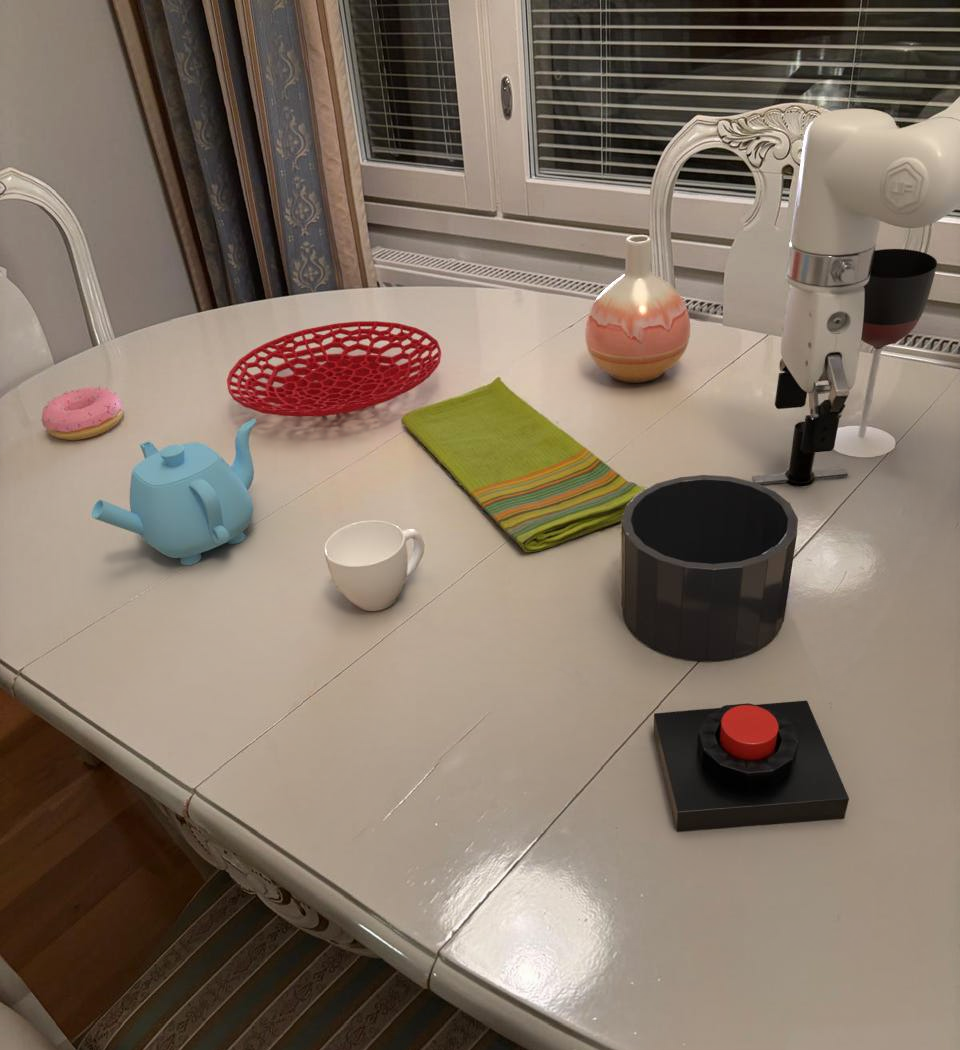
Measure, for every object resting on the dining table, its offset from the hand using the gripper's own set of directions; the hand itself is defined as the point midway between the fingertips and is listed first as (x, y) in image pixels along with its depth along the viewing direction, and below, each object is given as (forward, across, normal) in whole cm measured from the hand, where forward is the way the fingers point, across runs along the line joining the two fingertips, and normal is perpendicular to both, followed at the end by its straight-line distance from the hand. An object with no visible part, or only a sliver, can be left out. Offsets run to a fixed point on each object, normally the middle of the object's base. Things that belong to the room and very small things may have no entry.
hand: (802, 428), depth 97 cm
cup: (+7, -14, +45) cm, 47 cm away
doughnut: (+8, +32, +90) cm, 95 cm away
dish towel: (+7, +9, +31) cm, 33 cm away
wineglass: (+6, +7, -9) cm, 13 cm away
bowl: (+7, +33, +54) cm, 63 cm away
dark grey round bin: (+6, -21, +15) cm, 27 cm away
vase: (+7, +31, +13) cm, 34 cm away
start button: (+2, -41, +16) cm, 44 cm away
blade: (+6, 0, 0) cm, 6 cm away
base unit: (+6, -41, +16) cm, 45 cm away
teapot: (+7, 0, +67) cm, 67 cm away
